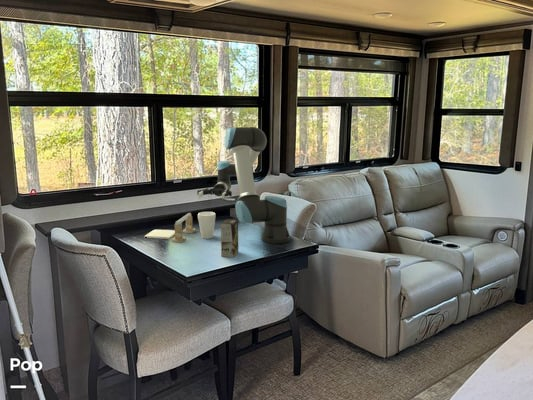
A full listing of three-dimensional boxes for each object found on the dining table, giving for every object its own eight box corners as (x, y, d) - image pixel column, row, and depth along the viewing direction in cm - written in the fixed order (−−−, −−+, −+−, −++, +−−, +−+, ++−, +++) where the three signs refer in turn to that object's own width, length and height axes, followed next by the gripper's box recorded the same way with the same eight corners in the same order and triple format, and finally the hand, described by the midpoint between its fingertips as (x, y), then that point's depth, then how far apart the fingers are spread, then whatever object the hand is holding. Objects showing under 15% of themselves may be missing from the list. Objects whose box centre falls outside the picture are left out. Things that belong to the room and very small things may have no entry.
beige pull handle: (185, 230, 263) (185, 215, 261) (195, 230, 262) (195, 215, 260) (171, 241, 240) (171, 224, 239) (182, 242, 240) (182, 225, 238)
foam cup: (197, 235, 252) (196, 212, 250) (213, 234, 255) (213, 211, 253) (200, 239, 244) (199, 216, 241) (217, 238, 246) (216, 215, 244)
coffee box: (234, 257, 215) (233, 224, 212) (220, 256, 216) (220, 223, 213) (239, 251, 224) (238, 219, 220) (226, 250, 225) (225, 219, 222)
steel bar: (188, 215, 260) (188, 212, 260) (191, 215, 260) (191, 213, 260) (175, 224, 239) (175, 222, 239) (178, 224, 239) (178, 222, 238)
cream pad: (178, 232, 259) (177, 230, 259) (169, 238, 245) (169, 237, 245) (154, 231, 261) (154, 229, 261) (144, 237, 247) (144, 236, 247)
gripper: (240, 196, 275) (232, 203, 254) (200, 194, 278) (189, 201, 258) (240, 183, 273) (232, 190, 253) (199, 182, 277) (189, 188, 256)
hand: (210, 195), depth 255 cm, fingers open, 13 cm apart
